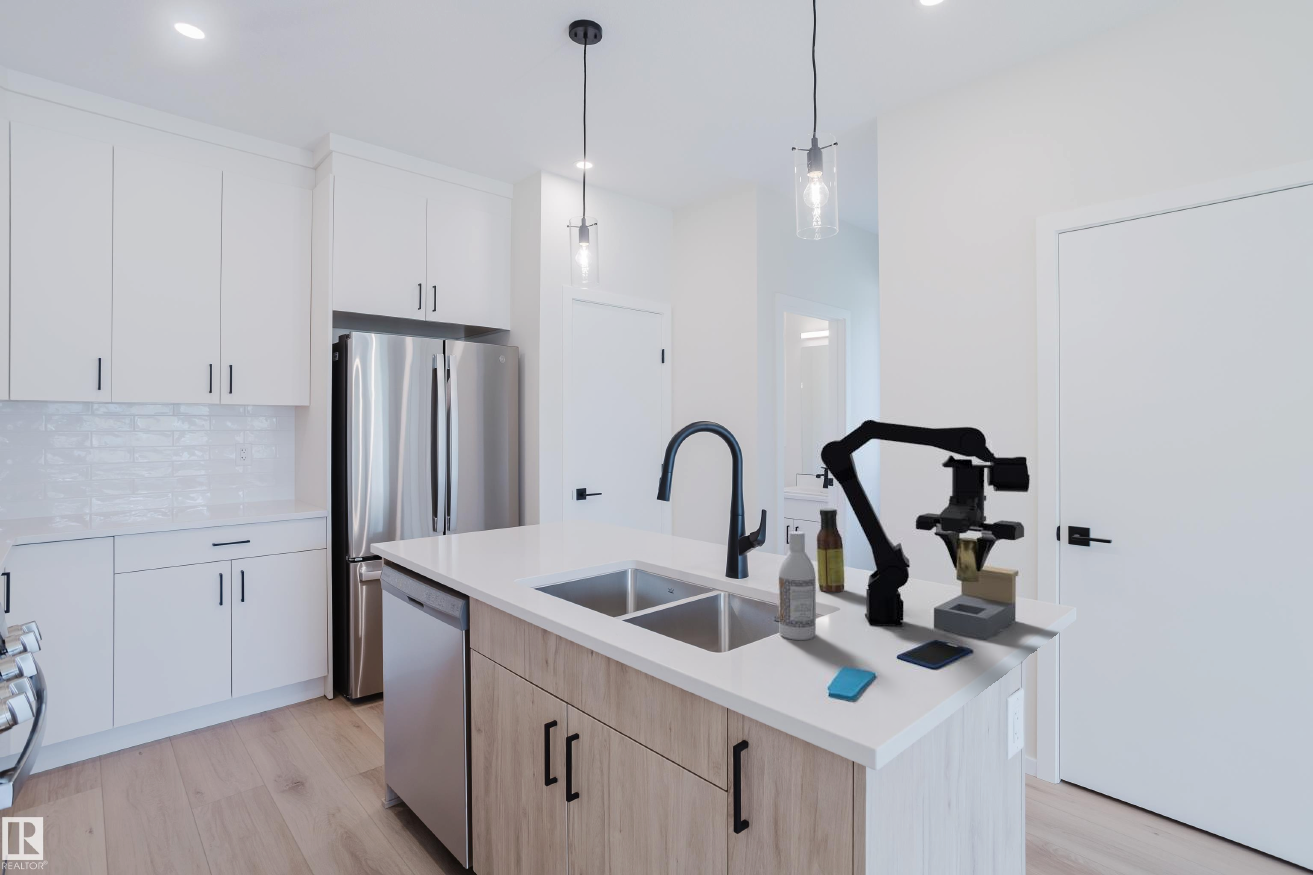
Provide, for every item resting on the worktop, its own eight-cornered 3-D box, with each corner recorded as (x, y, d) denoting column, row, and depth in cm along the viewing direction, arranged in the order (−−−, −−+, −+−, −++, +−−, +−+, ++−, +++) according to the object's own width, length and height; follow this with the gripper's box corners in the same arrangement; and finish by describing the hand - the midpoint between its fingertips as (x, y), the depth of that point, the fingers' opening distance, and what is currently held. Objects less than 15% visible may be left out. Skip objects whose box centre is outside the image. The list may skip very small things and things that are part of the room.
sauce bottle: (847, 589, 160) (847, 508, 159) (839, 594, 155) (839, 511, 154) (822, 585, 164) (821, 506, 163) (813, 590, 158) (812, 509, 158)
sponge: (814, 689, 100) (852, 694, 96) (841, 665, 109) (876, 668, 106) (815, 700, 99) (853, 704, 96) (842, 674, 109) (877, 678, 106)
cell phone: (974, 653, 117) (974, 649, 117) (934, 672, 108) (934, 668, 108) (935, 642, 122) (935, 638, 122) (894, 660, 114) (894, 655, 114)
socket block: (989, 640, 122) (990, 584, 122) (931, 627, 130) (931, 575, 130) (1018, 621, 133) (1018, 570, 133) (962, 610, 141) (962, 562, 141)
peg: (959, 581, 127) (960, 541, 127) (953, 576, 131) (954, 537, 131) (981, 582, 126) (982, 541, 126) (975, 577, 130) (975, 537, 130)
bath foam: (783, 627, 131) (783, 528, 130) (818, 631, 128) (818, 530, 127) (775, 638, 124) (774, 534, 124) (811, 643, 122) (811, 536, 121)
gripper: (903, 490, 129) (903, 568, 130) (1004, 498, 116) (1004, 585, 116) (927, 486, 137) (927, 560, 137) (1025, 492, 124) (1024, 574, 124)
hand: (967, 569), depth 129 cm, fingers closed on peg, 4 cm apart
